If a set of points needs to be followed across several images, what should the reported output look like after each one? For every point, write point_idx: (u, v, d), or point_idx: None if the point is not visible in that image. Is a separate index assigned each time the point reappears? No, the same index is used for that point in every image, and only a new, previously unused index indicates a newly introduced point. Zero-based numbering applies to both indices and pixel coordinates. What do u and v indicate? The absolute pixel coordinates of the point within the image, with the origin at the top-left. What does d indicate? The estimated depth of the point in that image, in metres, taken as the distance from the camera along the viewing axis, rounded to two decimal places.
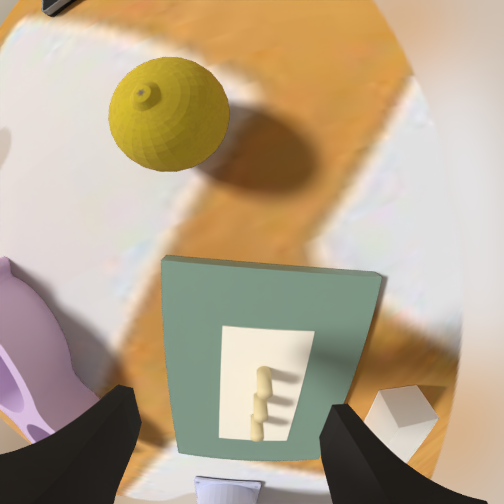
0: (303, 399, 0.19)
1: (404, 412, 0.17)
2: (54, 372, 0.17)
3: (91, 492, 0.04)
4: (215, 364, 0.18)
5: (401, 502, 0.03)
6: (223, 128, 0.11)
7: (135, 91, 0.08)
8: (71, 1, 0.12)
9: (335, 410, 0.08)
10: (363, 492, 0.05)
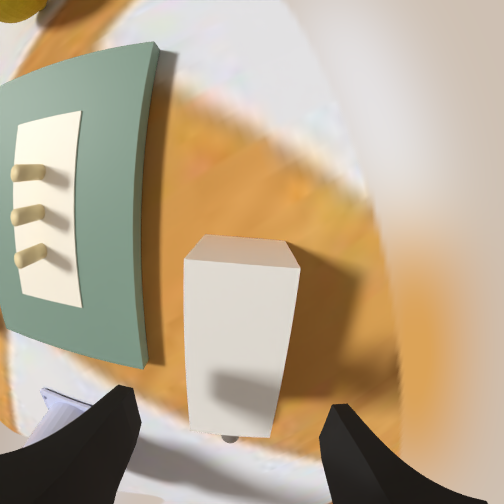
0: (80, 219, 0.14)
1: (221, 250, 0.12)
2: None
3: (91, 492, 0.04)
4: (11, 172, 0.13)
5: (401, 502, 0.03)
6: None
7: None
8: None
9: (335, 410, 0.08)
10: (362, 492, 0.05)
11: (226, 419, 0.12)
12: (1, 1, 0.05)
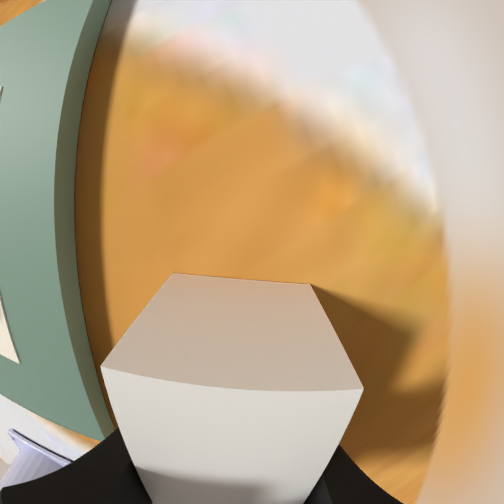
0: None
1: (190, 330, 0.05)
2: None
3: None
4: None
5: None
6: None
7: None
8: None
9: None
10: (316, 500, 0.05)
11: None
12: None
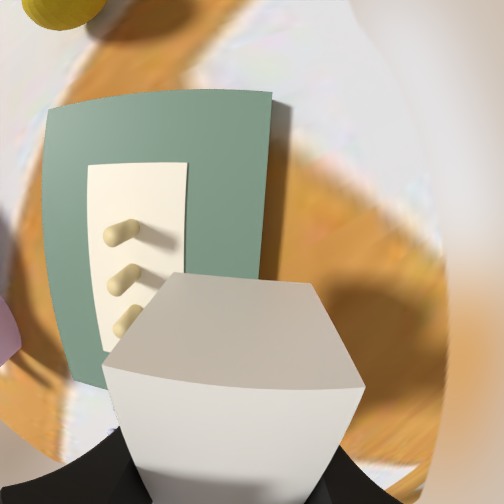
0: None
1: (191, 329, 0.05)
2: None
3: None
4: (82, 222, 0.14)
5: None
6: None
7: None
8: None
9: None
10: (316, 500, 0.05)
11: None
12: (51, 1, 0.06)
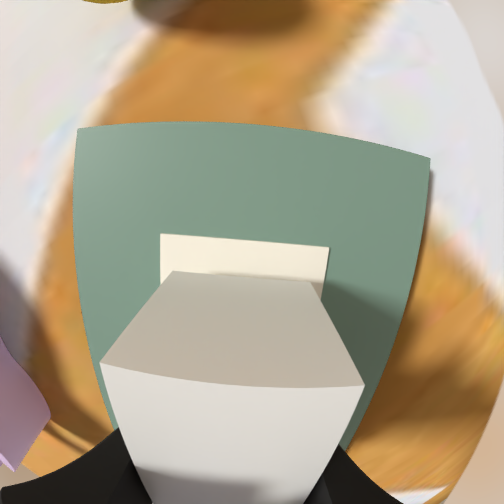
0: None
1: (189, 327, 0.05)
2: None
3: None
4: None
5: None
6: None
7: None
8: None
9: None
10: (316, 500, 0.05)
11: None
12: None
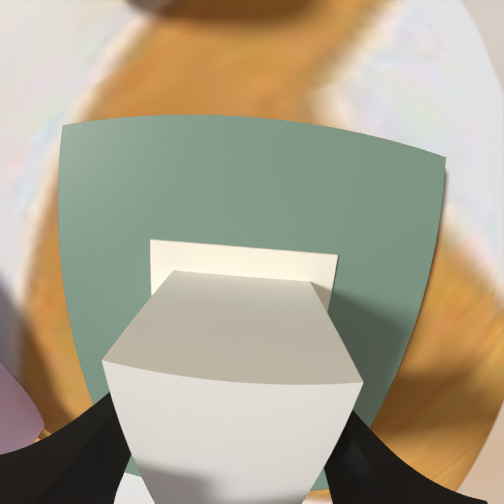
0: None
1: (190, 325, 0.06)
2: None
3: (91, 492, 0.04)
4: None
5: (401, 502, 0.03)
6: None
7: None
8: None
9: None
10: (362, 492, 0.05)
11: None
12: None
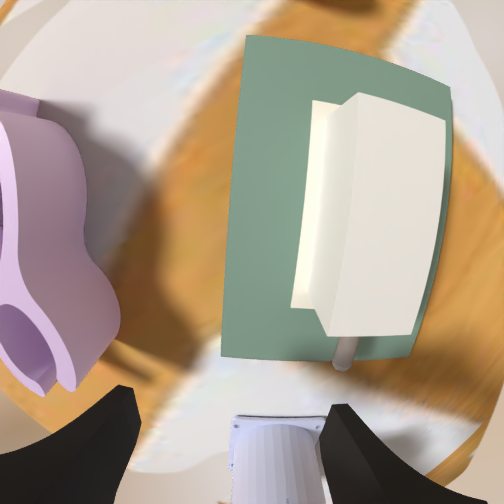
0: None
1: None
2: (60, 217, 0.13)
3: (91, 492, 0.04)
4: (301, 155, 0.14)
5: (401, 502, 0.03)
6: None
7: None
8: None
9: (335, 410, 0.08)
10: (363, 492, 0.05)
11: (376, 306, 0.11)
12: None
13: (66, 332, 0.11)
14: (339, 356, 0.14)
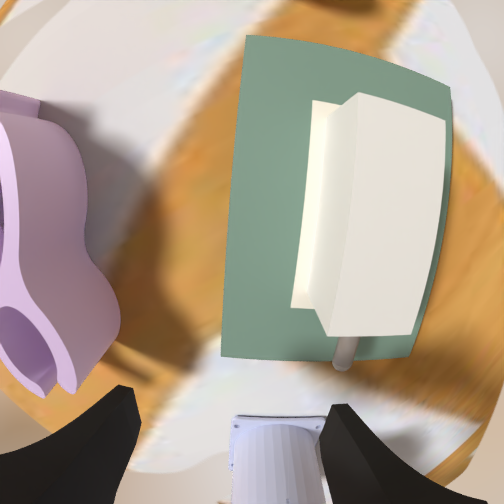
0: None
1: None
2: (61, 219, 0.13)
3: (91, 492, 0.04)
4: (301, 155, 0.14)
5: (401, 502, 0.03)
6: None
7: None
8: None
9: (335, 410, 0.08)
10: (363, 492, 0.05)
11: (376, 306, 0.11)
12: None
13: (67, 335, 0.12)
14: (339, 356, 0.14)
